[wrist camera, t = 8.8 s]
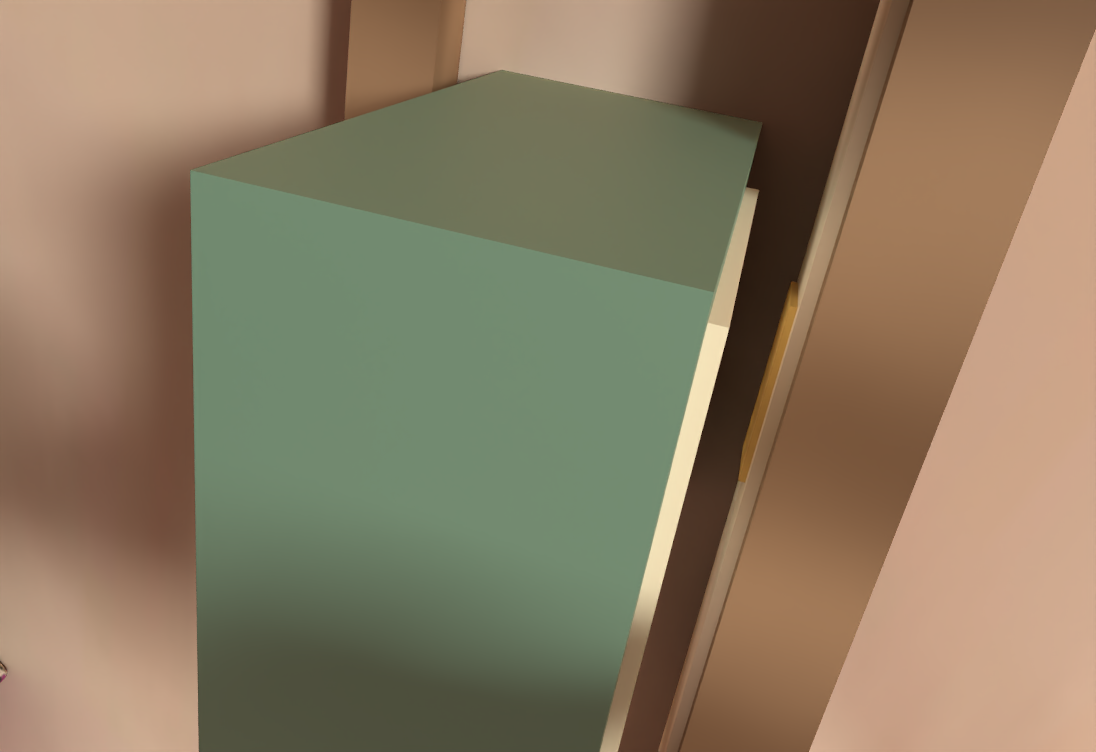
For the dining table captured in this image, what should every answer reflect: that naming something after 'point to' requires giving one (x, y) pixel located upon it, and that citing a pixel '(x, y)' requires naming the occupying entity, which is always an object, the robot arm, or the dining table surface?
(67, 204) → the dining table surface
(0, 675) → the candy bar box
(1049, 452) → the dining table surface
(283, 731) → the tea box
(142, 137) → the dining table surface
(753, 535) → the shelf slot
